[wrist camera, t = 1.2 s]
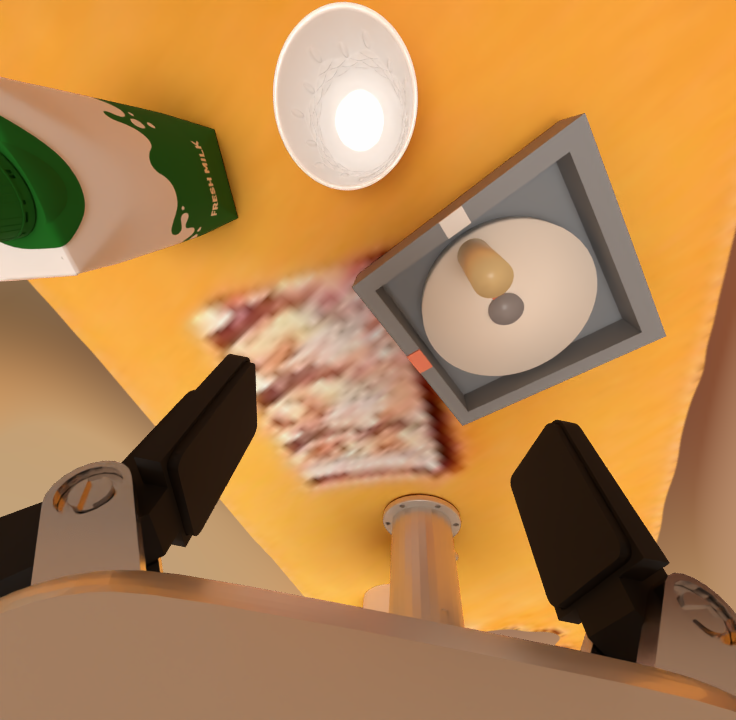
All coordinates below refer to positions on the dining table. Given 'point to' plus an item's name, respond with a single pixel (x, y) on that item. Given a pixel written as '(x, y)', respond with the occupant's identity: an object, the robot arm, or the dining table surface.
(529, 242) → the dial
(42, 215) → the milk carton
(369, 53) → the white cup
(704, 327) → the dining table surface
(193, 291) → the dining table surface
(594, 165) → the dial housing
